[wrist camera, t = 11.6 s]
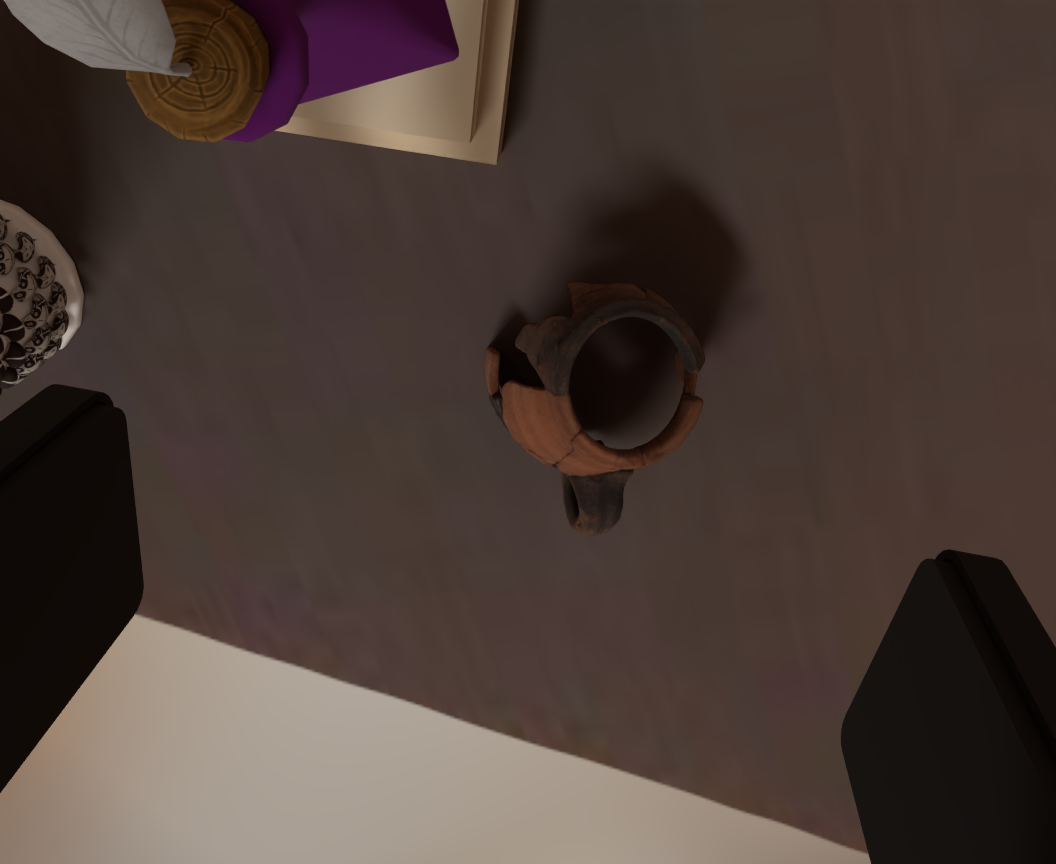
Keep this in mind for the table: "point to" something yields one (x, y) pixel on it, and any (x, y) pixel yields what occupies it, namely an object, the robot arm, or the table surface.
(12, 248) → the decorative candle
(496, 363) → the pottery mug
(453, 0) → the plinth
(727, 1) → the table surface
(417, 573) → the table surface
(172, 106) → the perfume bottle
